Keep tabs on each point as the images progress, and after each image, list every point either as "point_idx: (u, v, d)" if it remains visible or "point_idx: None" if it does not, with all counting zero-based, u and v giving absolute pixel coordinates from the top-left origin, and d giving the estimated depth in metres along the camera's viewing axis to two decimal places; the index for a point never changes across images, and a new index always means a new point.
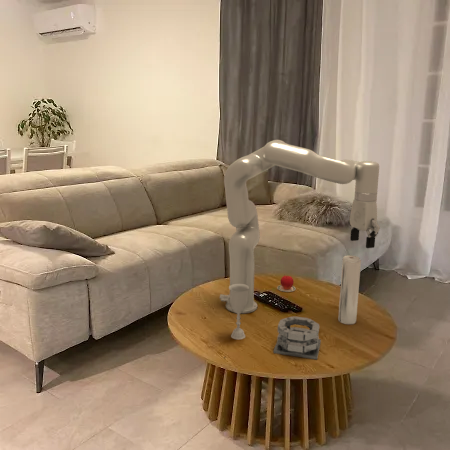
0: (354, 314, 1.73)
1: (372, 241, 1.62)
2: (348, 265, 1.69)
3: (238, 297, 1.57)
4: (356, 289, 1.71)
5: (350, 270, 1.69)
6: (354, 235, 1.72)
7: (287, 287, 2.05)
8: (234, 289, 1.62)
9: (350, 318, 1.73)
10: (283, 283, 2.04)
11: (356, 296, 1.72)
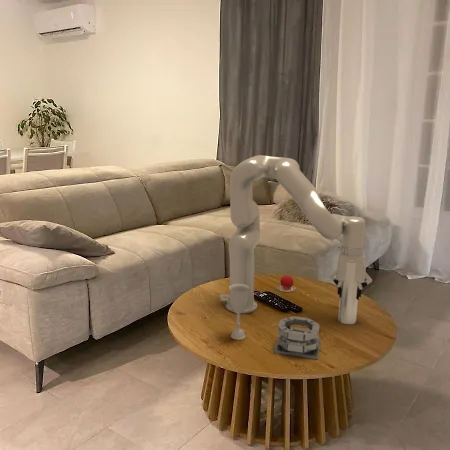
0: (354, 314, 1.73)
1: None
2: (347, 265, 1.69)
3: (238, 297, 1.57)
4: (356, 289, 1.71)
5: (350, 270, 1.69)
6: (341, 291, 1.74)
7: (287, 287, 2.05)
8: (234, 289, 1.62)
9: (350, 318, 1.73)
10: (283, 283, 2.04)
11: (356, 296, 1.72)
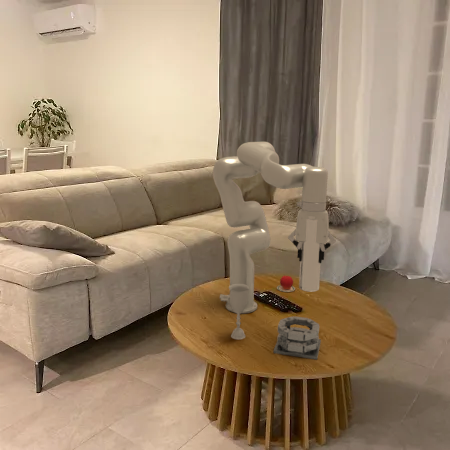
0: (316, 280, 1.51)
1: None
2: (308, 223, 1.47)
3: (238, 297, 1.57)
4: (318, 251, 1.49)
5: (310, 228, 1.47)
6: None
7: (287, 287, 2.05)
8: (234, 289, 1.62)
9: (312, 285, 1.51)
10: (283, 283, 2.04)
11: (318, 258, 1.50)
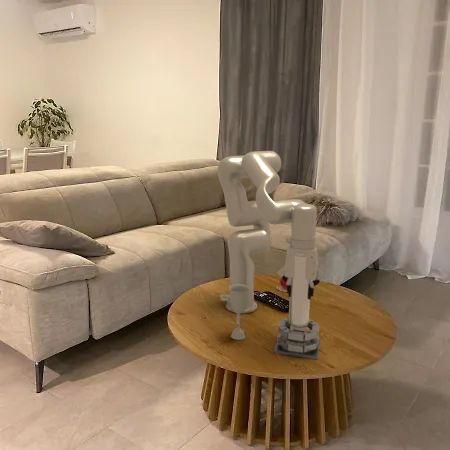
0: (305, 316, 1.51)
1: (313, 290, 1.50)
2: (296, 260, 1.46)
3: (238, 297, 1.57)
4: (307, 287, 1.48)
5: (299, 265, 1.46)
6: None
7: (286, 287, 2.04)
8: (234, 289, 1.62)
9: (301, 321, 1.51)
10: (282, 283, 2.04)
11: (307, 295, 1.49)
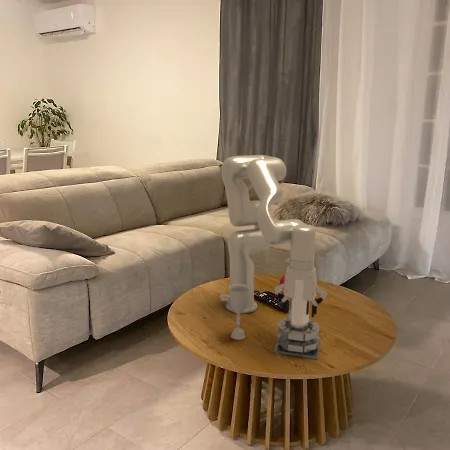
0: None
1: (316, 308, 1.51)
2: (295, 283, 1.48)
3: (238, 297, 1.57)
4: (306, 309, 1.50)
5: (298, 288, 1.48)
6: (286, 307, 1.54)
7: None
8: (234, 289, 1.62)
9: (300, 342, 1.53)
10: (282, 283, 2.04)
11: (306, 317, 1.51)
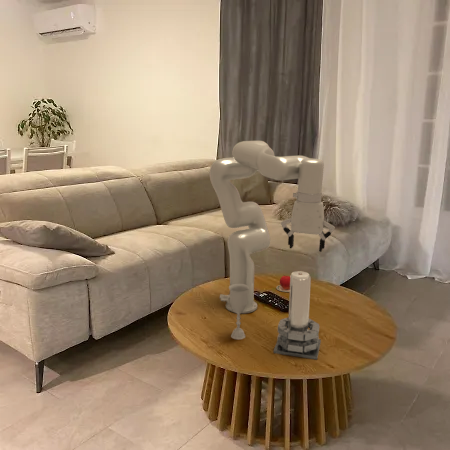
0: None
1: (324, 243, 1.52)
2: (295, 283, 1.48)
3: (238, 297, 1.57)
4: (306, 310, 1.50)
5: (298, 288, 1.48)
6: (292, 241, 1.55)
7: (286, 287, 2.04)
8: (234, 289, 1.62)
9: (300, 342, 1.53)
10: (282, 283, 2.04)
11: (306, 317, 1.51)
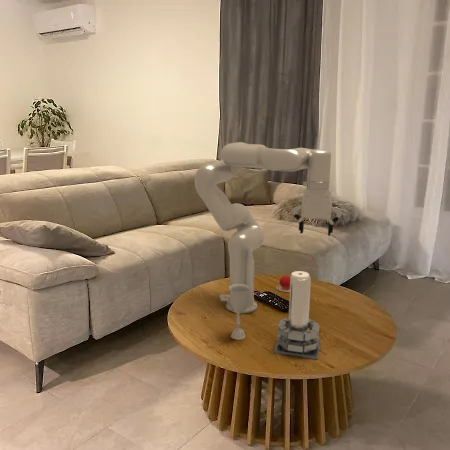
0: None
1: (332, 227, 1.64)
2: (295, 283, 1.48)
3: (238, 297, 1.57)
4: (306, 310, 1.50)
5: (298, 288, 1.48)
6: (302, 227, 1.67)
7: (286, 287, 2.04)
8: (234, 289, 1.62)
9: (300, 342, 1.53)
10: (282, 283, 2.04)
11: (306, 317, 1.51)
